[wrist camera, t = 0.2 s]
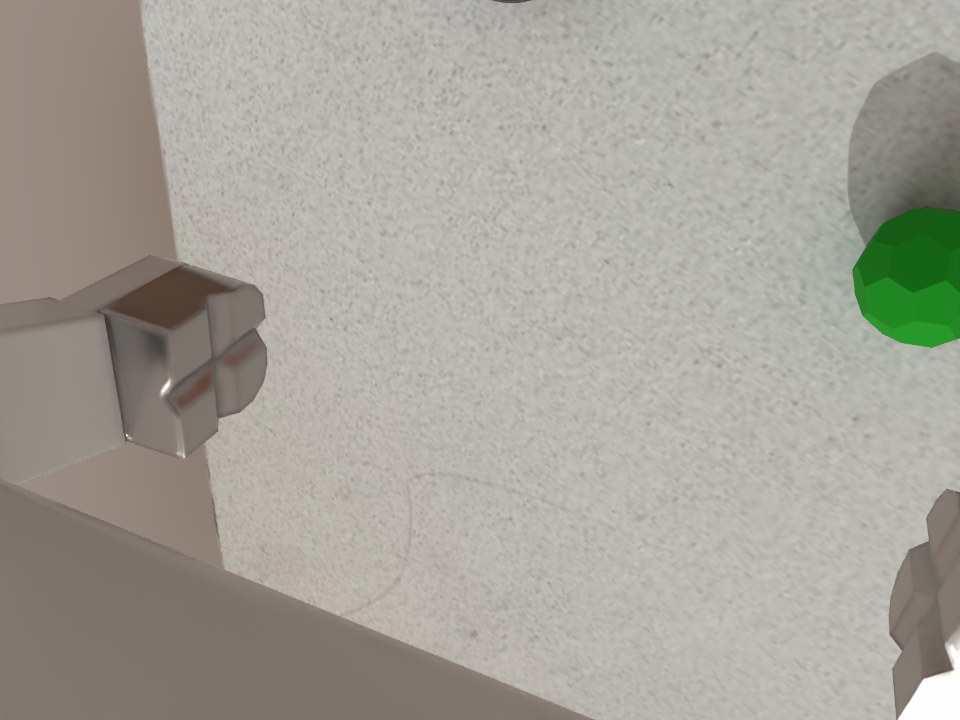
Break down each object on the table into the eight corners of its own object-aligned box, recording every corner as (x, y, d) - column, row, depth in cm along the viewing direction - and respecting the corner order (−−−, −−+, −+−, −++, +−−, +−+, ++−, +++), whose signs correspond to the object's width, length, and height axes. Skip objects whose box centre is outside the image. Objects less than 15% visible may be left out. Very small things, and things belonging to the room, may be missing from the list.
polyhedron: (881, 330, 32) (891, 388, 29) (828, 229, 31) (831, 275, 27) (1019, 279, 30) (1050, 335, 26) (966, 166, 29) (991, 207, 25)
